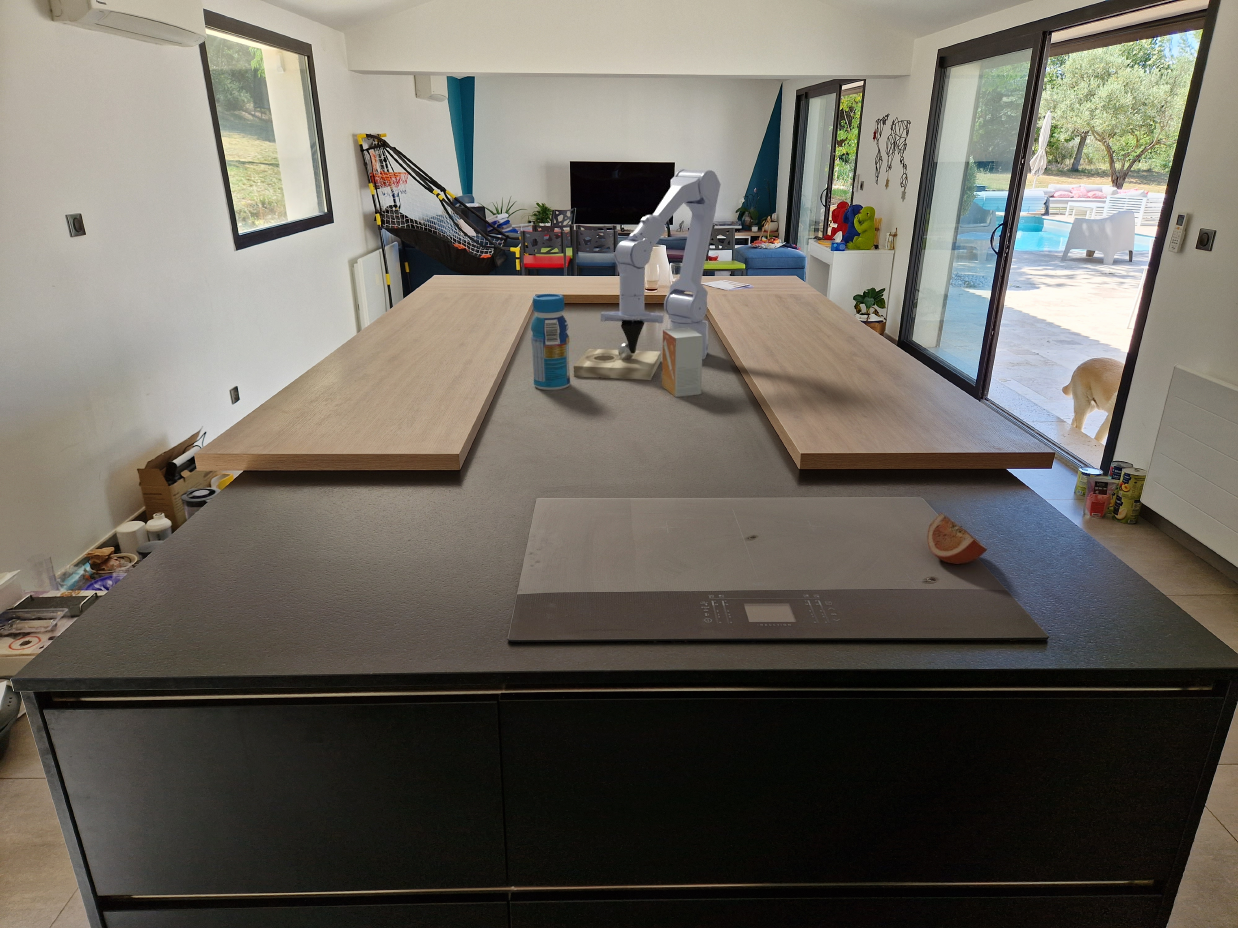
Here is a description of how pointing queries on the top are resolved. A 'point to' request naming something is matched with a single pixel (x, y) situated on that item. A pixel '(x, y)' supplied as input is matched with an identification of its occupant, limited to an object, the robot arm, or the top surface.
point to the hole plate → (617, 364)
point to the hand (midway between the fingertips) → (631, 352)
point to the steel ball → (625, 351)
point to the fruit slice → (952, 541)
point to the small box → (682, 361)
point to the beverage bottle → (550, 343)
